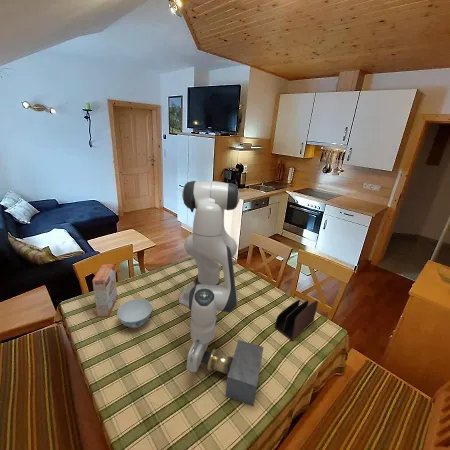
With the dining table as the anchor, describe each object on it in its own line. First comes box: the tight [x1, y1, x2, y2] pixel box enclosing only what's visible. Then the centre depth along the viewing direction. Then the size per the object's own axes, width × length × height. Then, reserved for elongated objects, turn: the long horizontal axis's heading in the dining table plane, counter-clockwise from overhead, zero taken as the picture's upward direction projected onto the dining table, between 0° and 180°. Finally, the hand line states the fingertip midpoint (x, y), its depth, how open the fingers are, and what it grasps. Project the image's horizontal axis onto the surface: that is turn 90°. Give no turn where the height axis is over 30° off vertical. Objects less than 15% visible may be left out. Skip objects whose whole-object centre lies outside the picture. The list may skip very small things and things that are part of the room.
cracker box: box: [91, 263, 118, 318], centre depth 115 cm, size 14×6×21 cm, turn 8°
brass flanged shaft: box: [201, 348, 234, 375], centre depth 90 cm, size 15×7×7 cm, turn 74°
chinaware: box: [116, 298, 153, 329], centre depth 109 cm, size 15×15×8 cm
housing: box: [225, 339, 264, 407], centre depth 87 cm, size 10×16×10 cm, turn 164°
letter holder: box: [274, 299, 319, 341], centre depth 114 cm, size 10×20×14 cm, turn 132°
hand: (201, 357), depth 91 cm, fingers closed on brass flanged shaft, 3 cm apart
